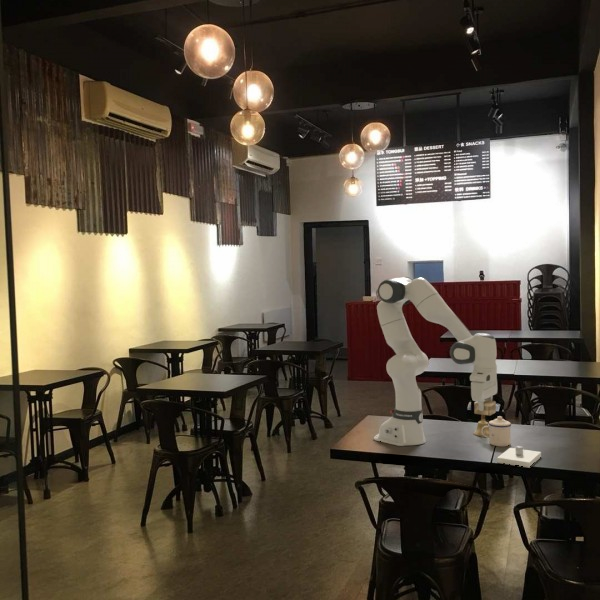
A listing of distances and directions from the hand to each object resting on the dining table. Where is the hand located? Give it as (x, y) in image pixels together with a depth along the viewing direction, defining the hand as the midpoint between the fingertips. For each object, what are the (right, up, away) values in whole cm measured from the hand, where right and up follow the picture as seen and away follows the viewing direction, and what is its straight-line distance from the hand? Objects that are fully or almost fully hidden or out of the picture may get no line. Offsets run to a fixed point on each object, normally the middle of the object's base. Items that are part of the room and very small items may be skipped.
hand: (485, 408), depth 248 cm
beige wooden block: (0, -2, 0) cm, 2 cm away
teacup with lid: (+10, -18, +17) cm, 27 cm away
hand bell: (+9, -18, +33) cm, 38 cm away
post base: (+12, -19, -6) cm, 23 cm away
